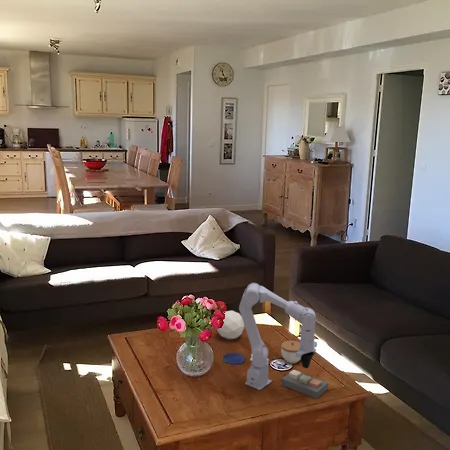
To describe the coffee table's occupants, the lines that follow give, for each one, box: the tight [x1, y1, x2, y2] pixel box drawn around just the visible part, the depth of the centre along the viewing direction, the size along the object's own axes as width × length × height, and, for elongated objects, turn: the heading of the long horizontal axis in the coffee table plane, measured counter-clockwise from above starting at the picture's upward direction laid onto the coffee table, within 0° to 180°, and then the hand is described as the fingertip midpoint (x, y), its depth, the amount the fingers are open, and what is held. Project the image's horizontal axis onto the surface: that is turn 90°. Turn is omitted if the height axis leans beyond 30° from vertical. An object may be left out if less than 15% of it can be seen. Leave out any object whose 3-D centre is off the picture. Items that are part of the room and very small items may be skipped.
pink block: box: [309, 379, 323, 388], centre depth 215 cm, size 4×4×3 cm
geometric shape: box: [216, 310, 245, 340], centre depth 265 cm, size 14×15×15 cm
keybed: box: [281, 372, 329, 399], centre depth 219 cm, size 10×17×3 cm, turn 52°
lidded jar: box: [280, 340, 301, 364], centre depth 242 cm, size 11×11×9 cm
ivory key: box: [288, 369, 302, 380], centre depth 221 cm, size 4×4×3 cm
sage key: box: [299, 375, 312, 384], centre depth 218 cm, size 4×4×3 cm
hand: (305, 367), depth 217 cm, fingers closed
